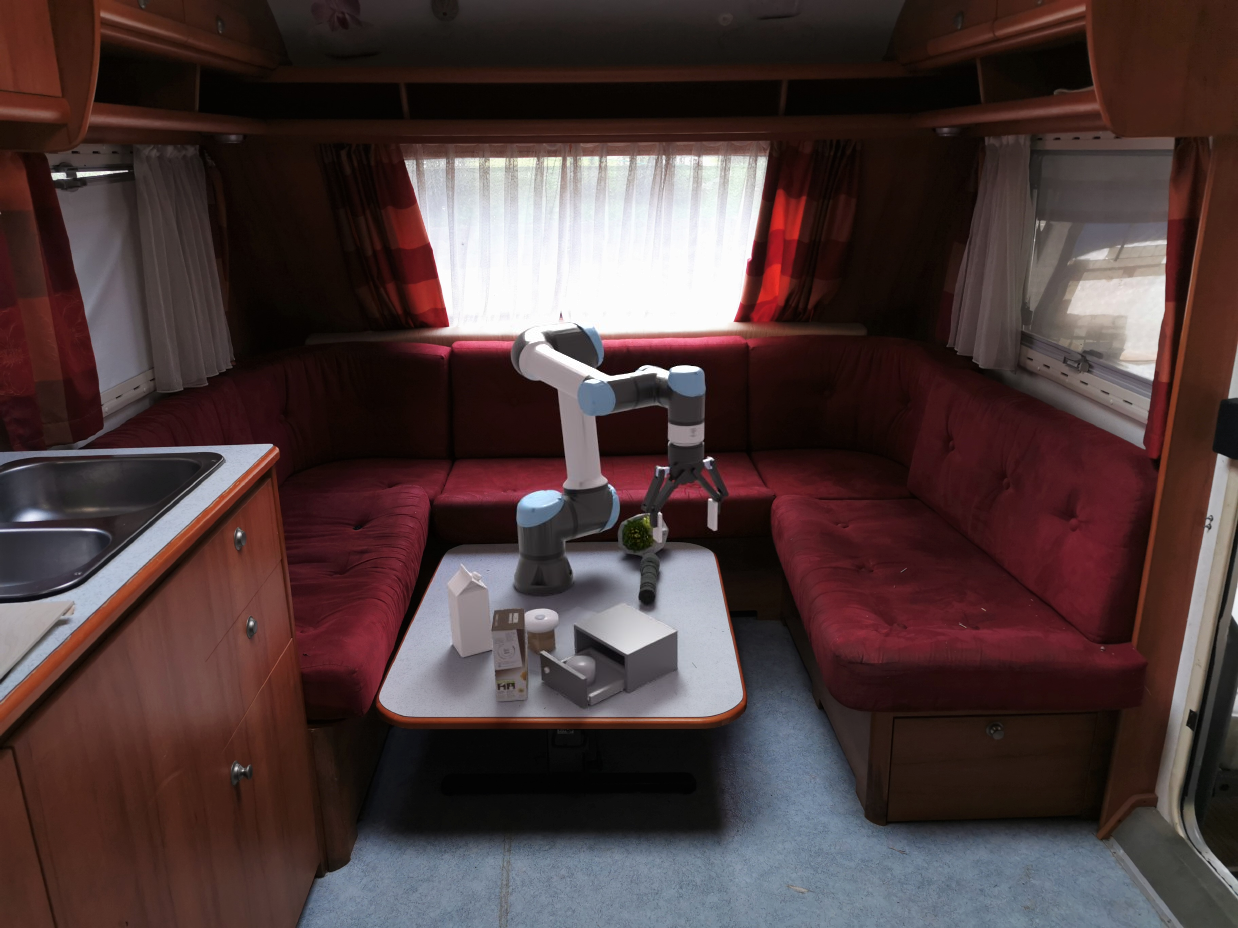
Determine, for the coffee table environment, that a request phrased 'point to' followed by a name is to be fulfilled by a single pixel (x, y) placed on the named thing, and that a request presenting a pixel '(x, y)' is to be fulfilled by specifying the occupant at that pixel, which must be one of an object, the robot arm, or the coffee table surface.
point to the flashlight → (648, 578)
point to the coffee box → (510, 654)
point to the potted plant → (640, 536)
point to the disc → (541, 620)
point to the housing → (630, 643)
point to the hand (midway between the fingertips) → (685, 534)
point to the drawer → (583, 676)
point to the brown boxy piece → (541, 641)
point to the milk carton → (469, 613)
